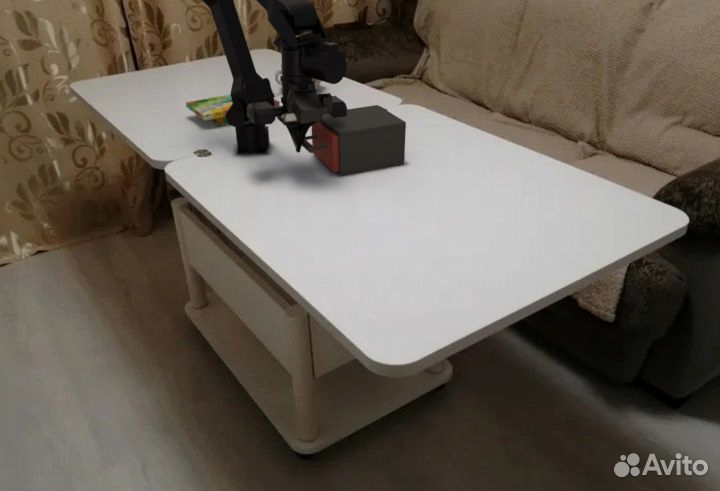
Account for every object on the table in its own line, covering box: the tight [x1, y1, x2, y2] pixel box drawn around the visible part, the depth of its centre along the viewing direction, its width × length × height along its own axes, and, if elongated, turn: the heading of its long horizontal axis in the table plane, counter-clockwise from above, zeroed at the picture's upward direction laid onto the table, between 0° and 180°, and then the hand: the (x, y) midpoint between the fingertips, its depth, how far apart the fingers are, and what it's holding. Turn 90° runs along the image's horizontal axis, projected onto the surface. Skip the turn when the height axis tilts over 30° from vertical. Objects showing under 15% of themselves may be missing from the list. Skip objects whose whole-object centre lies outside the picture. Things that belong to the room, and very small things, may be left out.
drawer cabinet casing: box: [321, 104, 407, 177], centre depth 124 cm, size 15×13×9 cm
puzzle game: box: [185, 94, 281, 127], centre depth 149 cm, size 12×5×20 cm
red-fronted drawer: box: [302, 122, 339, 173], centre depth 122 cm, size 18×11×7 cm, turn 115°
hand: (298, 151), depth 119 cm, fingers closed
